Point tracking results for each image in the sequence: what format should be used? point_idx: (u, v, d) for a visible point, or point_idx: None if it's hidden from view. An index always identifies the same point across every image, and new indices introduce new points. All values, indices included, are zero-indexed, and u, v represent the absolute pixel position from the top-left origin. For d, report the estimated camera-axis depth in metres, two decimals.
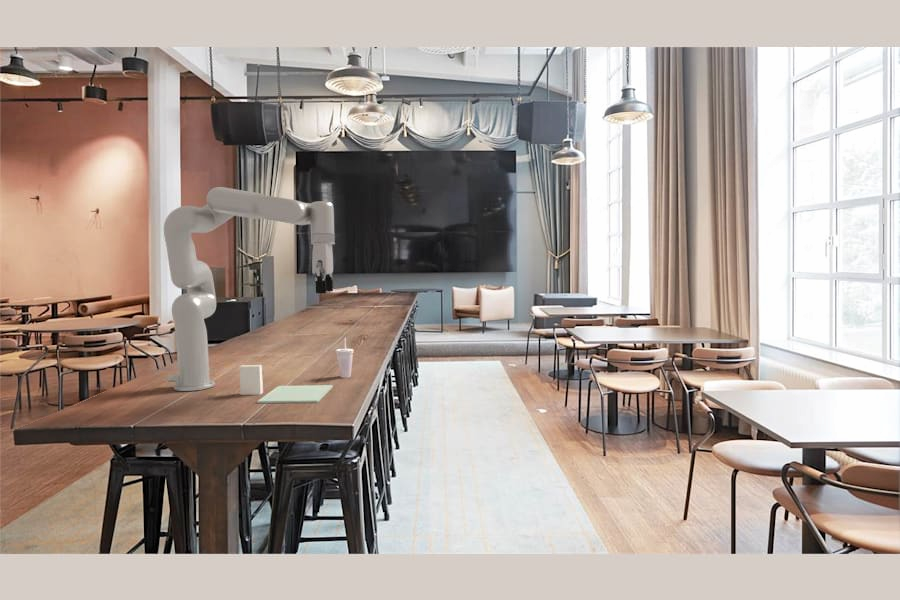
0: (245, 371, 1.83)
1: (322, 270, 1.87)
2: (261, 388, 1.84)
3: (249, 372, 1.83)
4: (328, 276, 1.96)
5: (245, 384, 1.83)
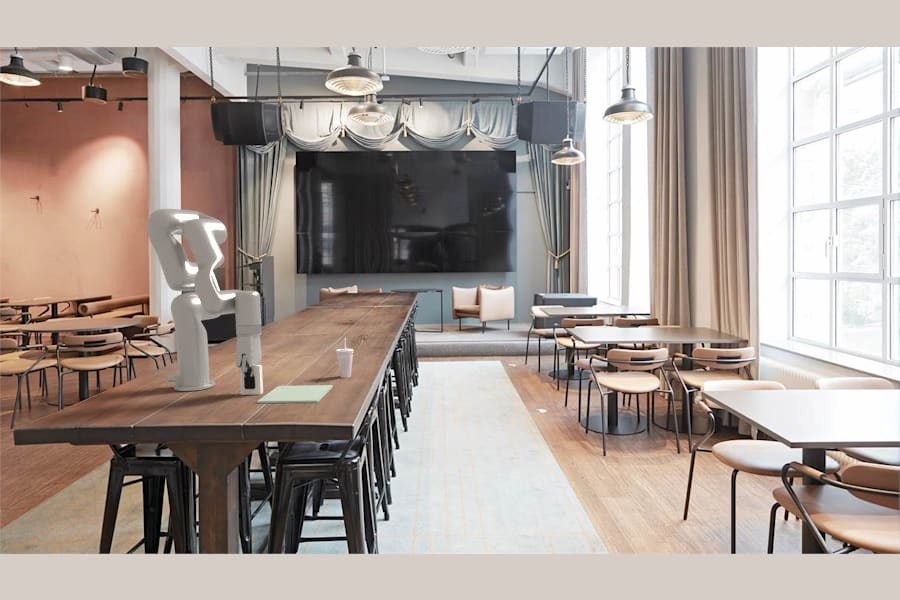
0: None
1: (249, 363, 1.81)
2: (261, 388, 1.84)
3: None
4: None
5: None
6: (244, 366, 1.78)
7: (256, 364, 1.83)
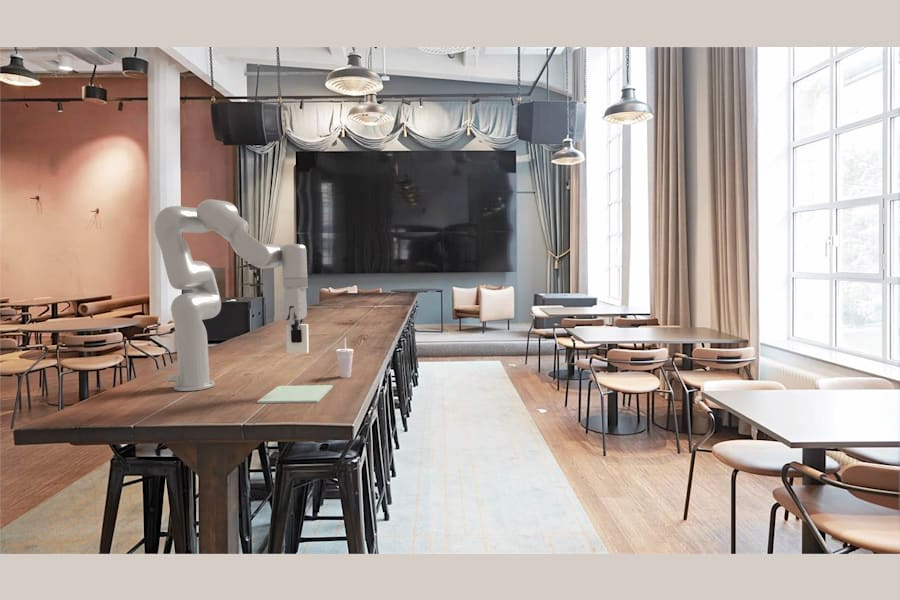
0: None
1: None
2: (307, 347, 1.84)
3: None
4: None
5: (292, 343, 1.82)
6: (292, 318, 1.77)
7: (302, 318, 1.83)
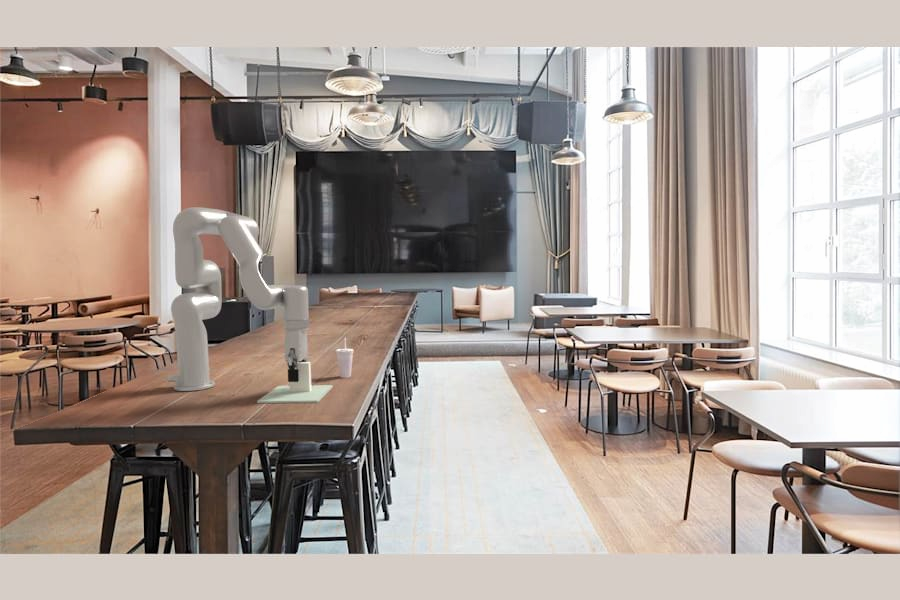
0: None
1: (295, 357, 1.81)
2: (310, 385, 1.84)
3: None
4: (302, 359, 1.89)
5: None
6: (292, 352, 1.78)
7: (303, 359, 1.84)
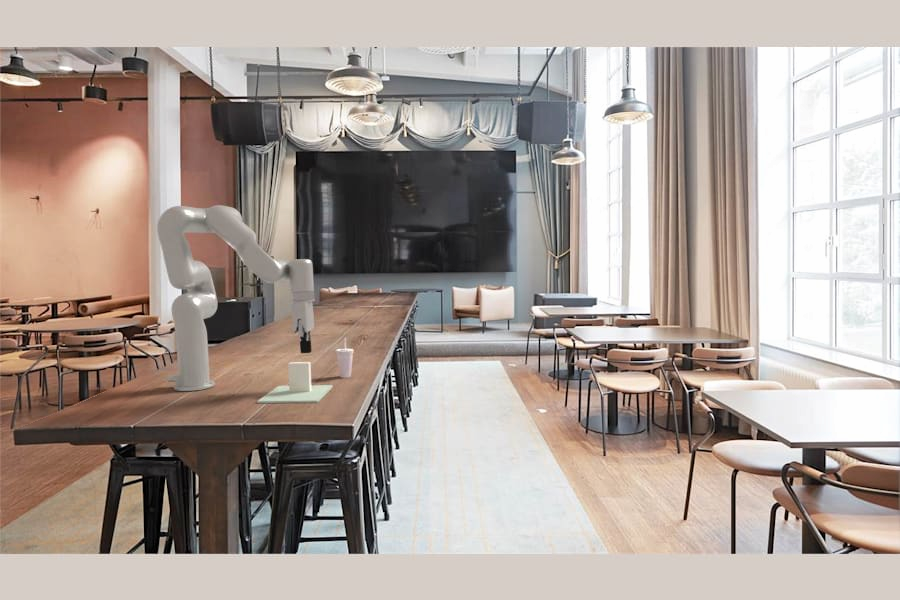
0: (294, 368, 1.83)
1: None
2: (310, 385, 1.84)
3: (298, 369, 1.83)
4: None
5: (294, 381, 1.83)
6: (301, 332, 1.85)
7: (310, 330, 1.90)
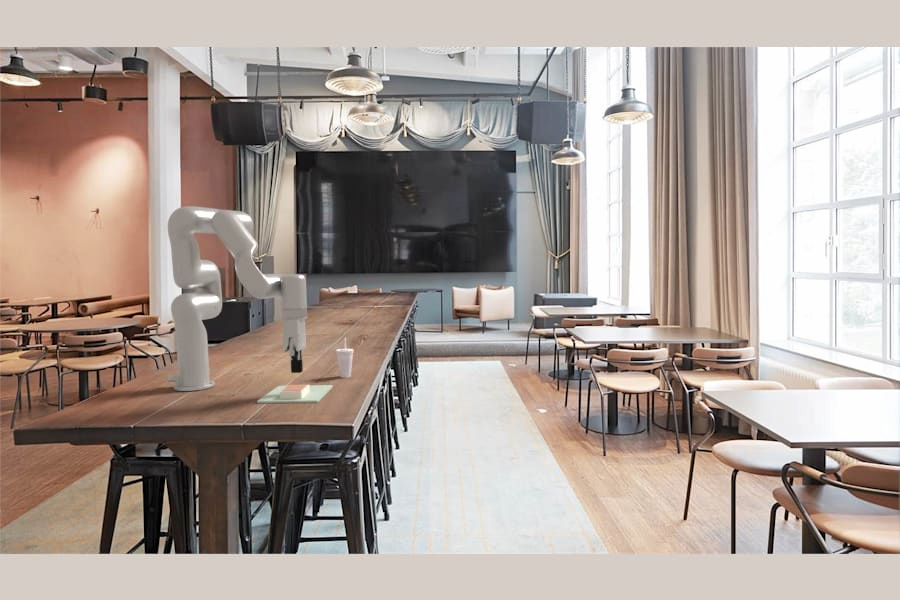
0: None
1: None
2: (308, 389, 1.81)
3: None
4: None
5: None
6: (292, 351, 1.76)
7: (302, 348, 1.81)
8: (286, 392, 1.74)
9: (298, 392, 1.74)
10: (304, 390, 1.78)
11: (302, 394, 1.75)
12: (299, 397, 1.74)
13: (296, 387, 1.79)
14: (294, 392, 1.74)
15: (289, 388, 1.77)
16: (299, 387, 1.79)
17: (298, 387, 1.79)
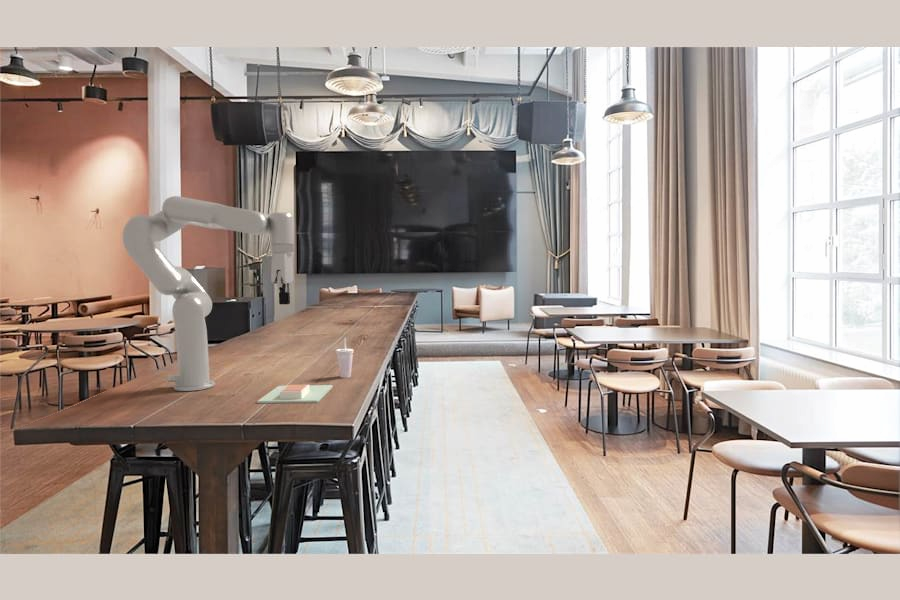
0: None
1: (283, 280, 1.95)
2: (308, 389, 1.81)
3: None
4: None
5: None
6: (279, 283, 1.91)
7: (289, 282, 1.96)
8: (286, 392, 1.74)
9: (298, 392, 1.74)
10: (304, 390, 1.78)
11: (302, 394, 1.75)
12: (299, 397, 1.74)
13: (296, 387, 1.79)
14: (294, 392, 1.74)
15: (289, 388, 1.77)
16: (299, 387, 1.79)
17: (298, 387, 1.79)
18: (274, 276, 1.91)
